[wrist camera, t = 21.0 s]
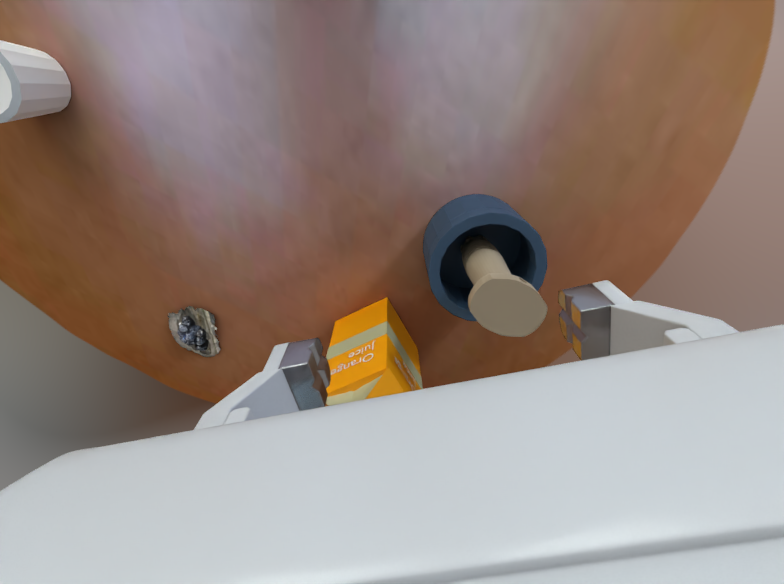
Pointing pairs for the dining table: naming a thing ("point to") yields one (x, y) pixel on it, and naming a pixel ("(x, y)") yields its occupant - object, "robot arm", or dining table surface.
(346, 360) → the orange juice
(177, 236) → the dining table surface
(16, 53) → the white ribbed cylinder
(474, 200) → the jar
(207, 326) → the mineral rock
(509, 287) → the handle
